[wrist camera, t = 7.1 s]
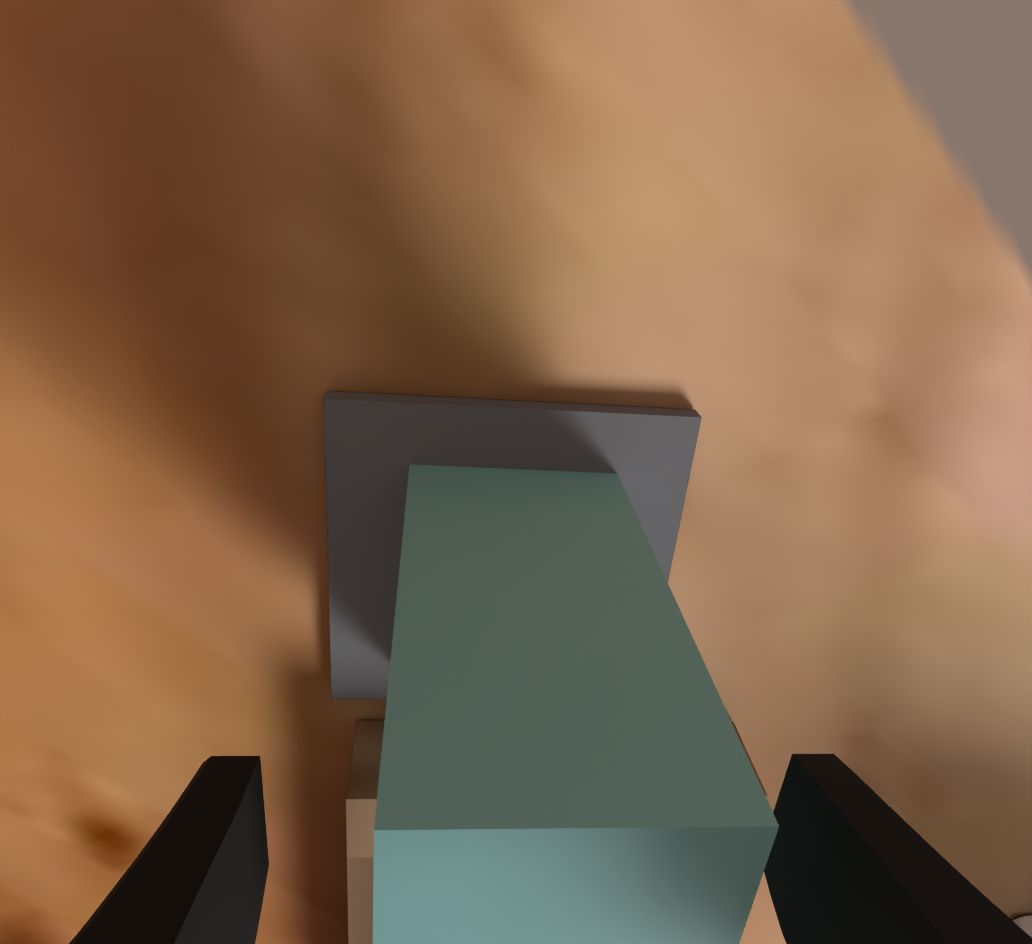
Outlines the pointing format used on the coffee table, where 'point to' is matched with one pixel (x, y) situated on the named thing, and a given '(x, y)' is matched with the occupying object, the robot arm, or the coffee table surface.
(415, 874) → the teal block
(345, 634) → the mat
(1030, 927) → the skincare box
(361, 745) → the block
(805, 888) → the robot arm
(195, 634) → the coffee table surface
